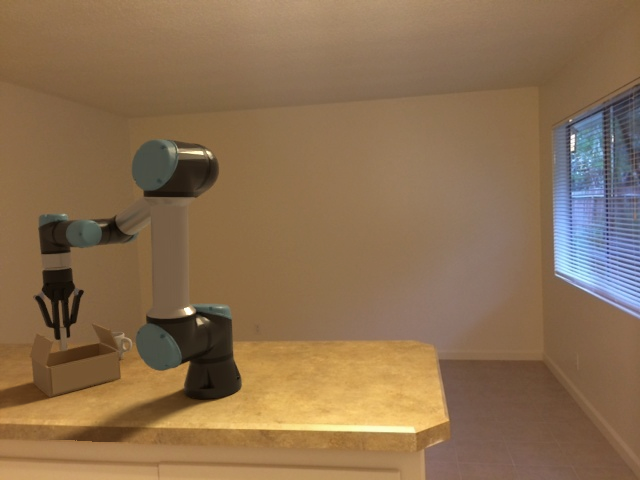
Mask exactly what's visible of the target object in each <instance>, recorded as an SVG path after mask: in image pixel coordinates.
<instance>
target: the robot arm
mask: <svg viewBox="0 0 640 480" xmlns="http://www.w3.org/2000/svg"><path fill="white" fill-rule="evenodd" d="M219 174H220V166H219V161H218V158H217V156H216V155H215V153H214V152H213V151H212V150H211V149H209V148H208V147H206V146H205V145H202V144H199V143H191V142H184V141H179V140H173V139H166V138H164V139H157V138H156V139H150V140H146V141H145V142H143V143H142V144H141V145H140V147H139V148H138V149H137V150H136V152H135V154H134V155H133V157H132V163H131V176H132V179H133V181H134V182H135V185H136V186H137V187H138V188H140V189H141V190H142V191H143V195H142V196H140V197H139V198H137V199H136V200H135V201H133V202H132V203H131V204H130V205H128V206H126V207H125V208H124V209H122V210H121V211H120V212H119V213H117V214H115V215H114V216H111V217H109V218H94V219H93V218H91V219H87V218H86V219H84V218H83V219H80V218H79V219H72V220H70V219H69V216H68V214H66V213H45V214H44V213H43V214H42V213H41V214H40V215H39V216H38V237H39V247H40V248H39V249H40V257H41V261H40V262H41V268H42V269H43V270H42V271H41V274H42V288H41V291H40V292H39V293H38V294H35V295H33V296H32V298H33V300H35V302H36V303H37V304H38V307H39V310H40V313H41V315H42V319H43V321H44V324H45V326H46V327H48V328H50V329H53V335H54V339H55V340H56V341H58V351H66V350H68V349H69V348H68V339H69V338H70V337H71V326H72V325H74V324H77V322H78V321H77V320H78V316H79V315H78V314H79V308H80V302H81V300H82V299H81V298H82V297H83V295H84V294H85V290H84V289H81V288H78V287H76V285H75V283H74V278H73V277H74V276H73V268H72V267H71V266H72V265H73V263H72V253H71V252H72V251H71V248H79V249H84V248H92V247H98V246H104V245H105V246H106V245H116V244H121V245H122V244H127V243H131V242H134V241H135V240H137V238H138V236H139V235H140V234H139V233H140V231H142V230H143V229H145V228H146V227H147V226H149V225H150V233H151V234H150V237H151V241H150V243H151V245H150V246H151V282H152V283H151V284H152V285H151V287H152V289H151V290H152V291H151V292H152V305H151V306H150V307H149V309H148V310H146V312H145V323H144V324H143V325H141V327H139V329H138V330H137V331H136V334H135V345H136V347H135V348H136V350H137V353H138V355H139V357H140V359H141V360H143V362H144V363H145V365H146V366H148V367H149V368H151V369H152V370H154V371H158V372H159V371H160V372H161V371H162V372H163V371H167V370H170V369H176V368H178V367H179V366H181V365H184V364H186V363H188V362H189V363H188V364H189V365H188V368H187V372H186V376H185V380H184V383H183V387H184V389H183V390H184V391H183V392H184V394H185V396H187V397H189V398H193V399H197V400H198V399H199V400H211V399H217V398H218V399H220V398H222V397H226V396H230V395H233V394H235V393H236V392H238V391H239V390H241V388H242V386H243V385H242V383H243V381H242V376H241V374H240V373H241V372H240V371H239V368H238V366H237V363H236V361H235V358H234V357H235V355H234V338H233V337H234V336H233V317H232V310H231V308H230V306H229V305H227V304H225V303H224V304H223V303H190V302H191V301H190V296H191V295H190V243H189V242H190V231H189V230H190V229H189V228H190V226H189V219H190V218H189V216H190V215H189V207H190V204H191V203H192V202H193V201H194V200H195V199H196V198H198V197H200V196H202V195H203V194H204V193H207V191H208V190H209V191H210V189H211V188H212V187H213V186H214V185H215V183H216V182H217V180H218V178H219ZM72 294H73V299H72V304H71V309H70V308H69V305H70V304H69V298H70V297H71V295H72ZM46 297H47V299H48V300H49V301H50V304H51V315H52V318H51V316H50V313H49V310H48V307H47V305H46V303H45V298H46ZM60 303H61V306H60ZM60 307H61V315H62V317H61V318H62V325H63V326H61V321H60V319H61V318H60Z"/></svg>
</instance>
